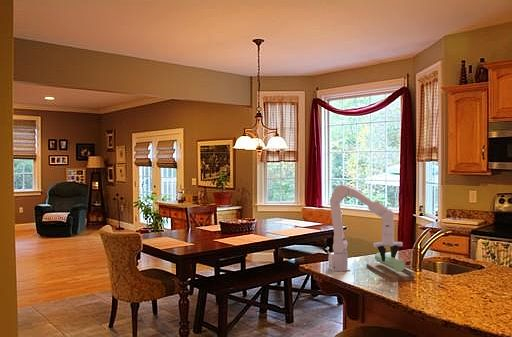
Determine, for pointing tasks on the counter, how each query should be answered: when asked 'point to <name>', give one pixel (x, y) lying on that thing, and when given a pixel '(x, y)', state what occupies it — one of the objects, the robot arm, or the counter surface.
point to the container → (391, 262)
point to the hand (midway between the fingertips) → (388, 261)
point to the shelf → (391, 272)
